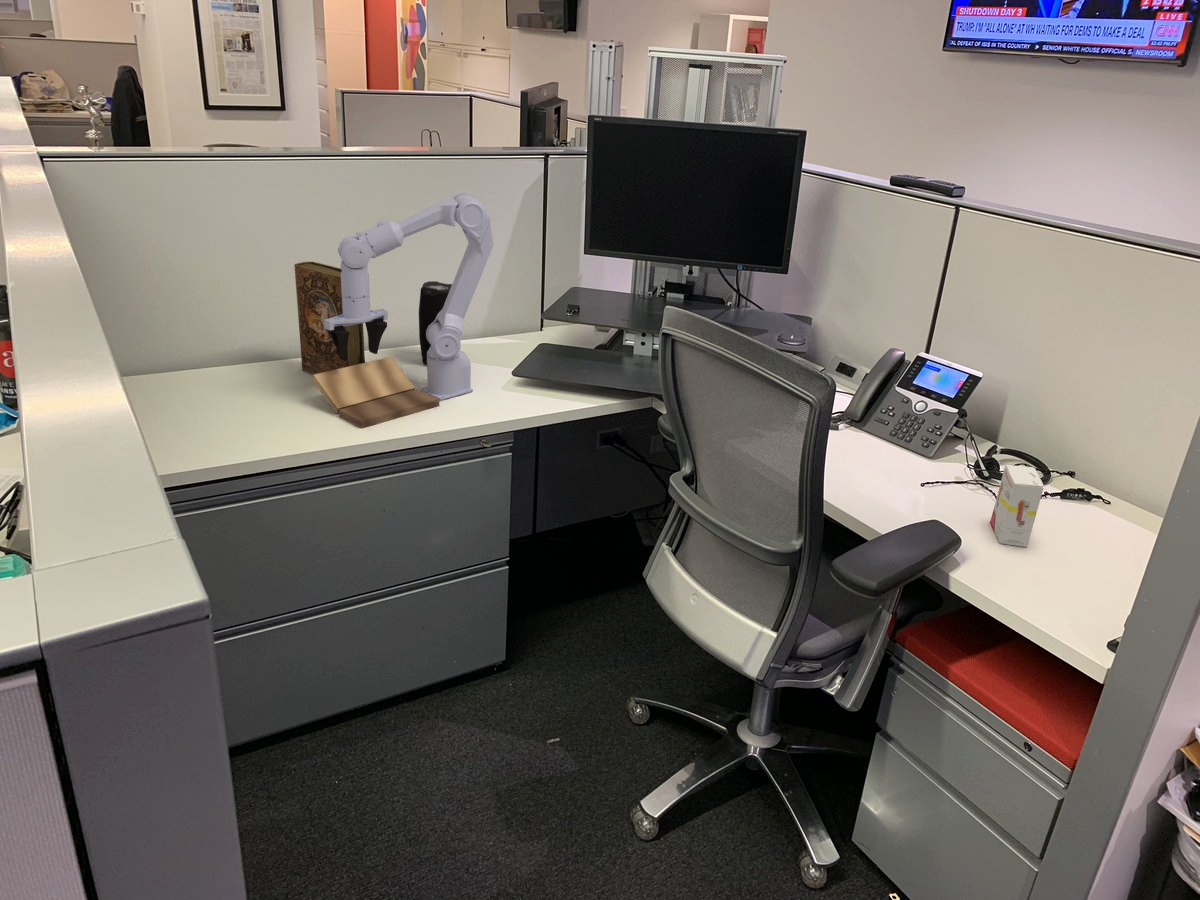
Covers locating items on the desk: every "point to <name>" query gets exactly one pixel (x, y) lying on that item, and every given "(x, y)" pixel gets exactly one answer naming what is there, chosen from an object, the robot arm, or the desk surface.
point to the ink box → (1016, 505)
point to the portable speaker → (430, 309)
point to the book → (316, 304)
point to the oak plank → (362, 383)
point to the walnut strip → (388, 408)
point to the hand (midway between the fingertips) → (358, 356)
